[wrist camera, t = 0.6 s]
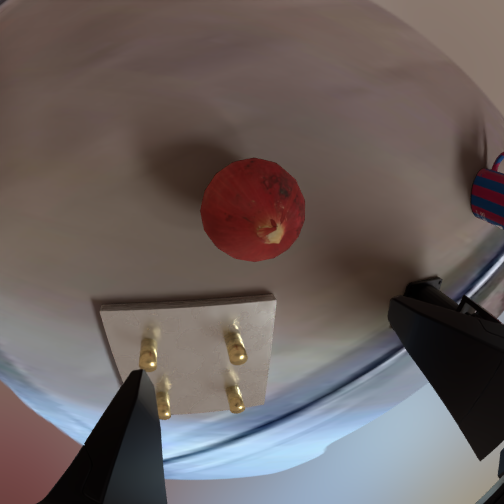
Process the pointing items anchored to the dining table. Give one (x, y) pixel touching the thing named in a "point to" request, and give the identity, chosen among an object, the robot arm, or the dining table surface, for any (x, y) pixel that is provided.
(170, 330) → the plate
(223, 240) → the red rounded piece
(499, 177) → the mug
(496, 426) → the robot arm
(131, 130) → the dining table surface
